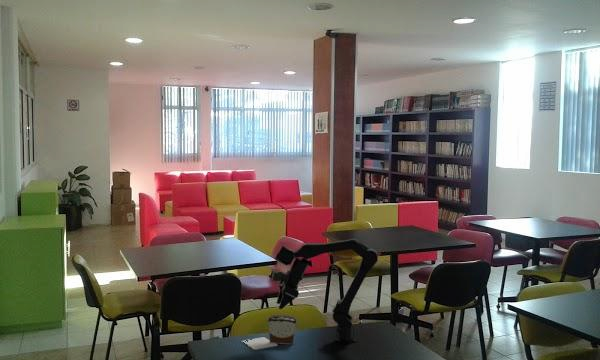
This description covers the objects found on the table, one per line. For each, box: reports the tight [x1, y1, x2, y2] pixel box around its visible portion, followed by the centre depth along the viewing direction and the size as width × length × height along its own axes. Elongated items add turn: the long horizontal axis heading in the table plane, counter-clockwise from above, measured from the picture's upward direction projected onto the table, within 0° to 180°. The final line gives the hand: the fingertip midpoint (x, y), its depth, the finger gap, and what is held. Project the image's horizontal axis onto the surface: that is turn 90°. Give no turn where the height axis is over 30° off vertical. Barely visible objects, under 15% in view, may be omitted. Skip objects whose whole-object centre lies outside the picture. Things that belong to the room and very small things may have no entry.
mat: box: [241, 336, 279, 351], centre depth 213 cm, size 10×12×1 cm
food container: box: [266, 314, 299, 345], centre depth 215 cm, size 12×6×10 cm, turn 84°
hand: (278, 306), depth 216 cm, fingers open, 9 cm apart
